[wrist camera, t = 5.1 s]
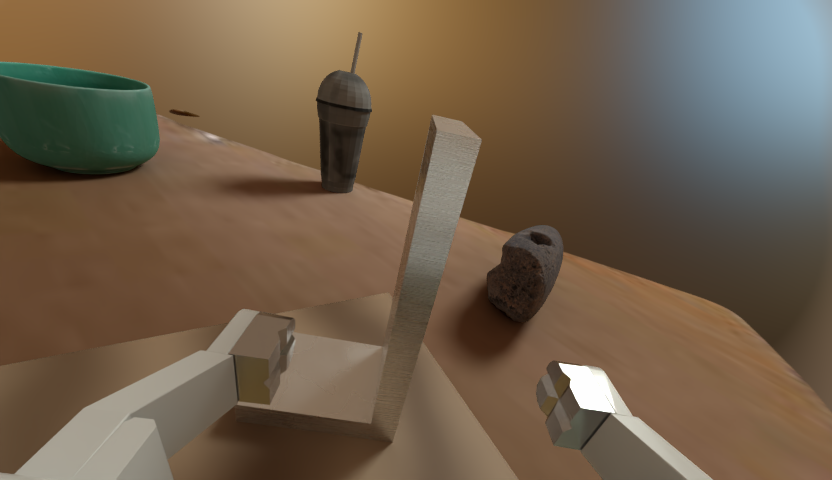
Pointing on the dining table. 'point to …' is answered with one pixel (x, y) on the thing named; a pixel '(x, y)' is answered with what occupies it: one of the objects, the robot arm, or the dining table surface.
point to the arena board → (248, 442)
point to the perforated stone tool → (526, 272)
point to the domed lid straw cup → (342, 125)
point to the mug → (77, 118)
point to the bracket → (410, 311)
